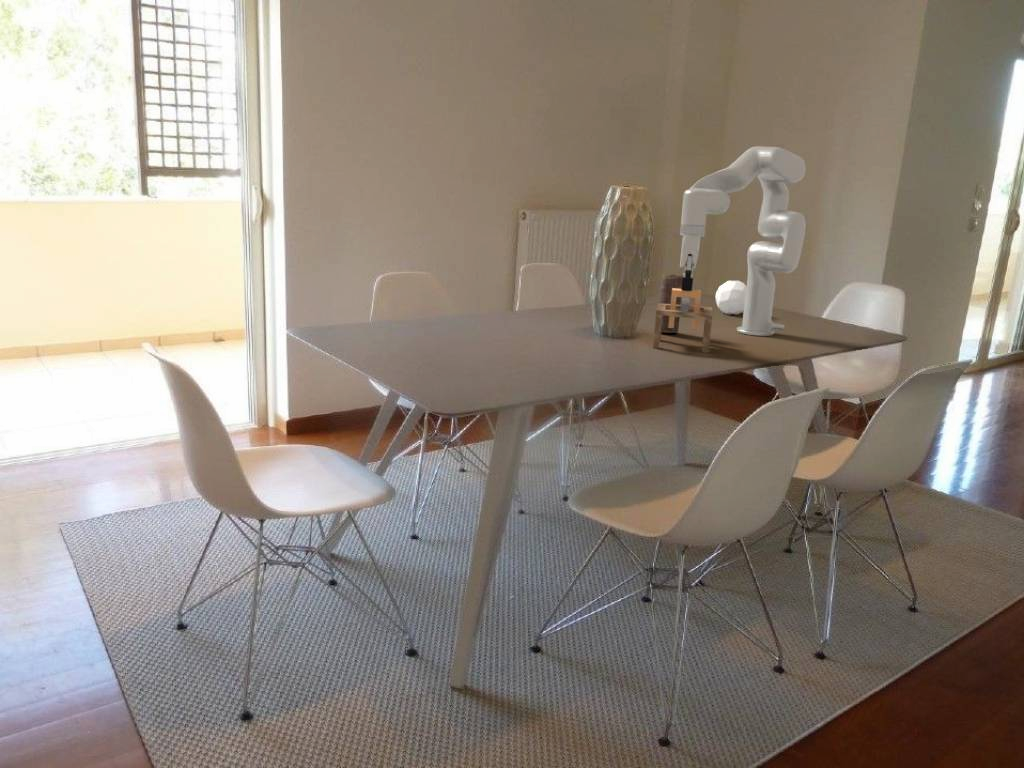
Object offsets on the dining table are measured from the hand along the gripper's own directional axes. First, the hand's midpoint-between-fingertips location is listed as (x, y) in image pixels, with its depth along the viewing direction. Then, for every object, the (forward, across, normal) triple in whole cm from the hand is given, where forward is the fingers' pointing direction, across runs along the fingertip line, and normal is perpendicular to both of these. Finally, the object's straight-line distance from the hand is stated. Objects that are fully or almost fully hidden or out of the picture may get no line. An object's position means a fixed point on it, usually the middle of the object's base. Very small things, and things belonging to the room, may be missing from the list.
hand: (686, 288), depth 274 cm
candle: (+19, -19, -5) cm, 27 cm away
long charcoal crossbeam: (+6, 0, 0) cm, 6 cm away
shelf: (+18, 0, 0) cm, 18 cm away
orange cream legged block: (+12, 0, 0) cm, 12 cm away
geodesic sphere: (+19, -70, +18) cm, 75 cm away
